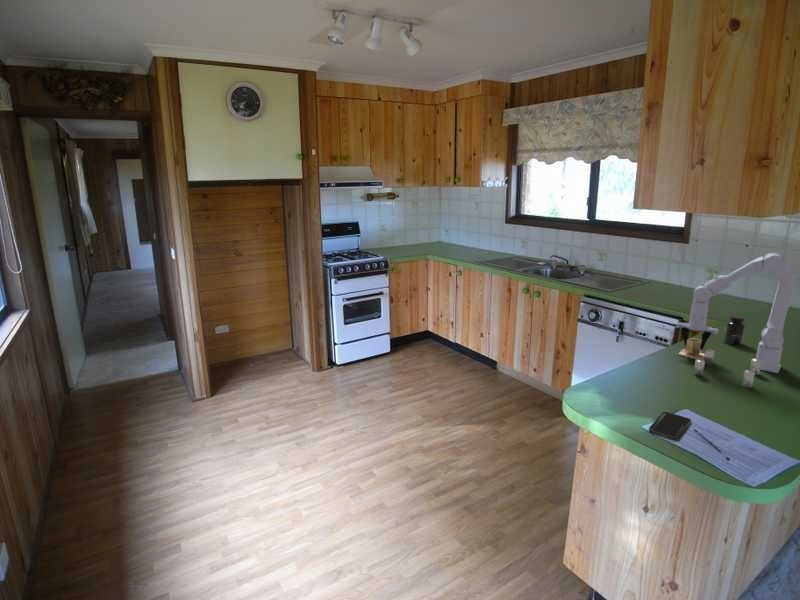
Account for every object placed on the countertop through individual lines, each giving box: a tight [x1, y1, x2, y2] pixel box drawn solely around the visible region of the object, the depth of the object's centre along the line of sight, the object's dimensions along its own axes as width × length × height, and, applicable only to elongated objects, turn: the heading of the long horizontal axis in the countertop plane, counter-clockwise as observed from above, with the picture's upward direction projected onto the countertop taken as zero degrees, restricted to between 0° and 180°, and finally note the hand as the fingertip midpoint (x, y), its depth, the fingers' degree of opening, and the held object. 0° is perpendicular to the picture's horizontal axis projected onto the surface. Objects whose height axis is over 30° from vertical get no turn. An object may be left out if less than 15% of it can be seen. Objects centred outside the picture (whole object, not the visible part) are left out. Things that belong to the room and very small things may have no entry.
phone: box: [648, 411, 692, 441], centre depth 140 cm, size 8×1×15 cm
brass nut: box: [685, 337, 702, 354], centre depth 194 cm, size 6×5×5 cm
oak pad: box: [677, 348, 705, 360], centre depth 195 cm, size 7×9×1 cm
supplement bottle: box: [723, 315, 746, 346], centre depth 208 cm, size 7×7×12 cm
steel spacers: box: [692, 348, 762, 389], centre depth 176 cm, size 18×18×6 cm
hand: (693, 347), depth 194 cm, fingers closed on brass nut, 5 cm apart
